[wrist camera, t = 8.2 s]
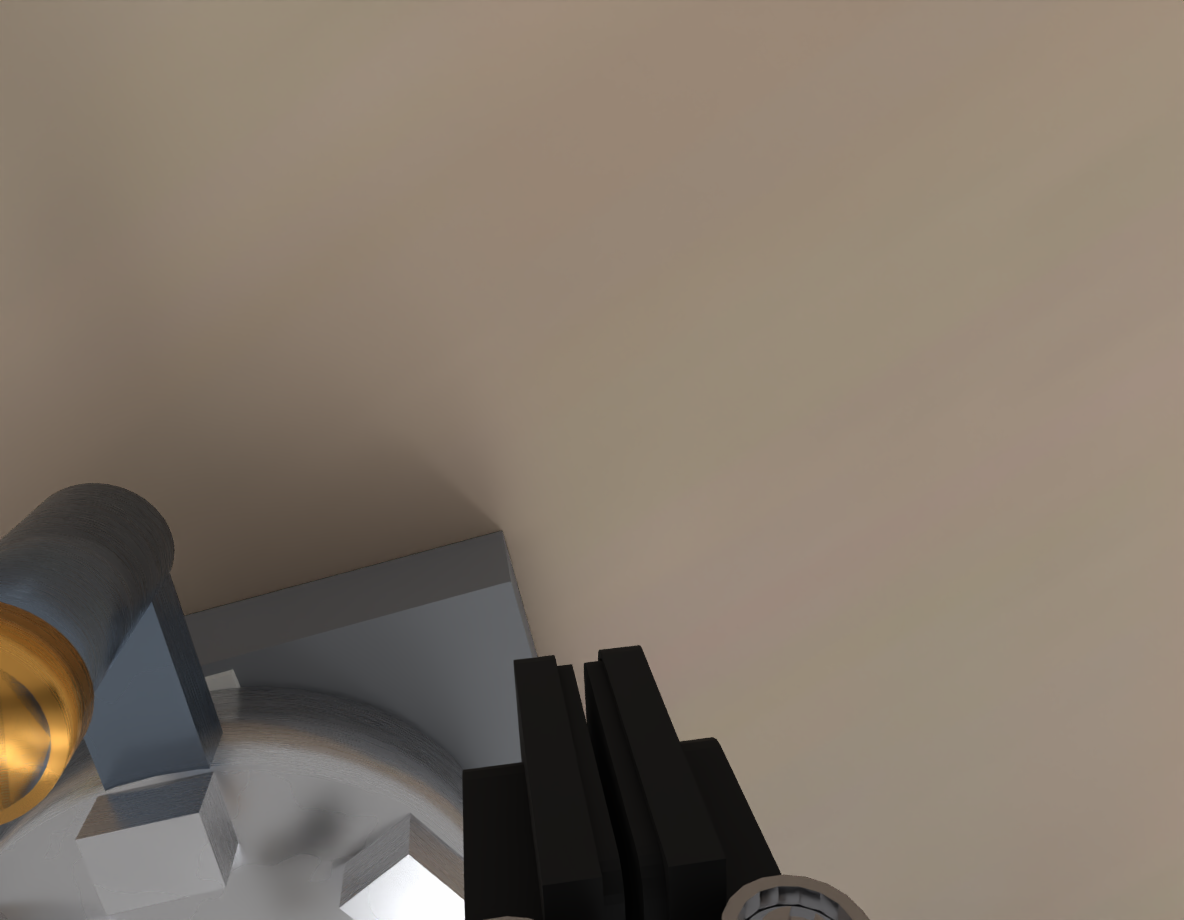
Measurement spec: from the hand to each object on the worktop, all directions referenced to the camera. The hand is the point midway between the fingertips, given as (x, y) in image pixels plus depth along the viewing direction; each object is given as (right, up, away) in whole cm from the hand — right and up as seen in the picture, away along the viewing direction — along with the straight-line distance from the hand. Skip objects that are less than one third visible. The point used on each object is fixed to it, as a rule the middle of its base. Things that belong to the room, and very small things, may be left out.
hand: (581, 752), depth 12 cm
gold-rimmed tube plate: (-8, -4, +10) cm, 14 cm away
